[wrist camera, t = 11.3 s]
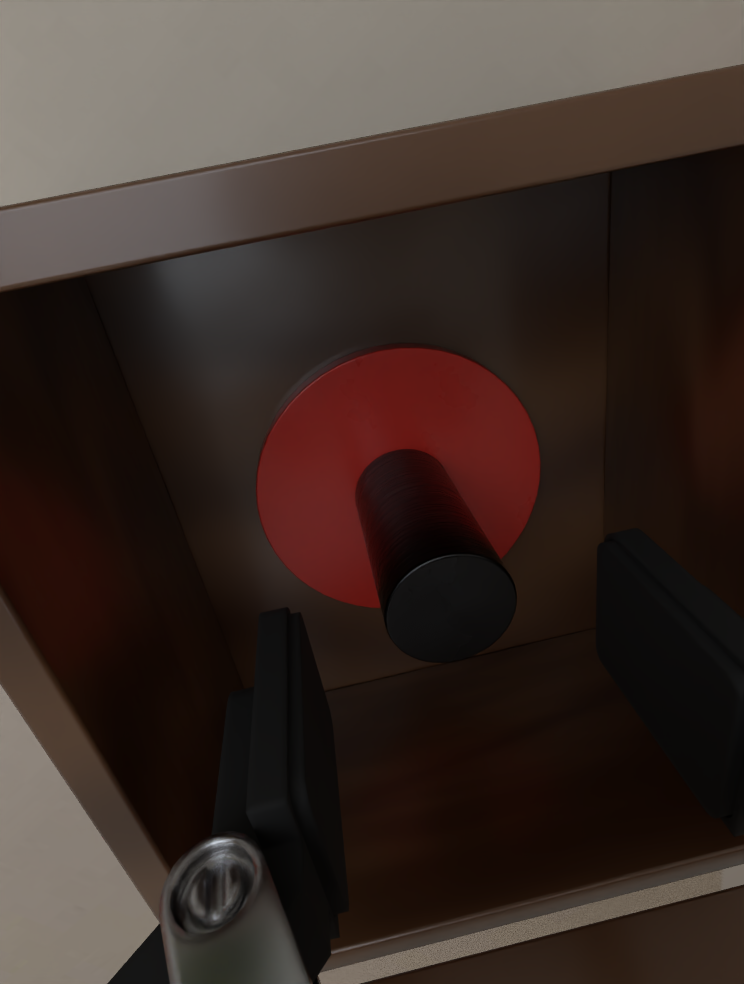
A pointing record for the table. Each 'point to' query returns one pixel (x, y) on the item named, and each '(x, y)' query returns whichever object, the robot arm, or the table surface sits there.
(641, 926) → the chest lid
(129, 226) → the chest
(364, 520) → the pot lid
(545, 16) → the table surface
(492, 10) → the table surface
